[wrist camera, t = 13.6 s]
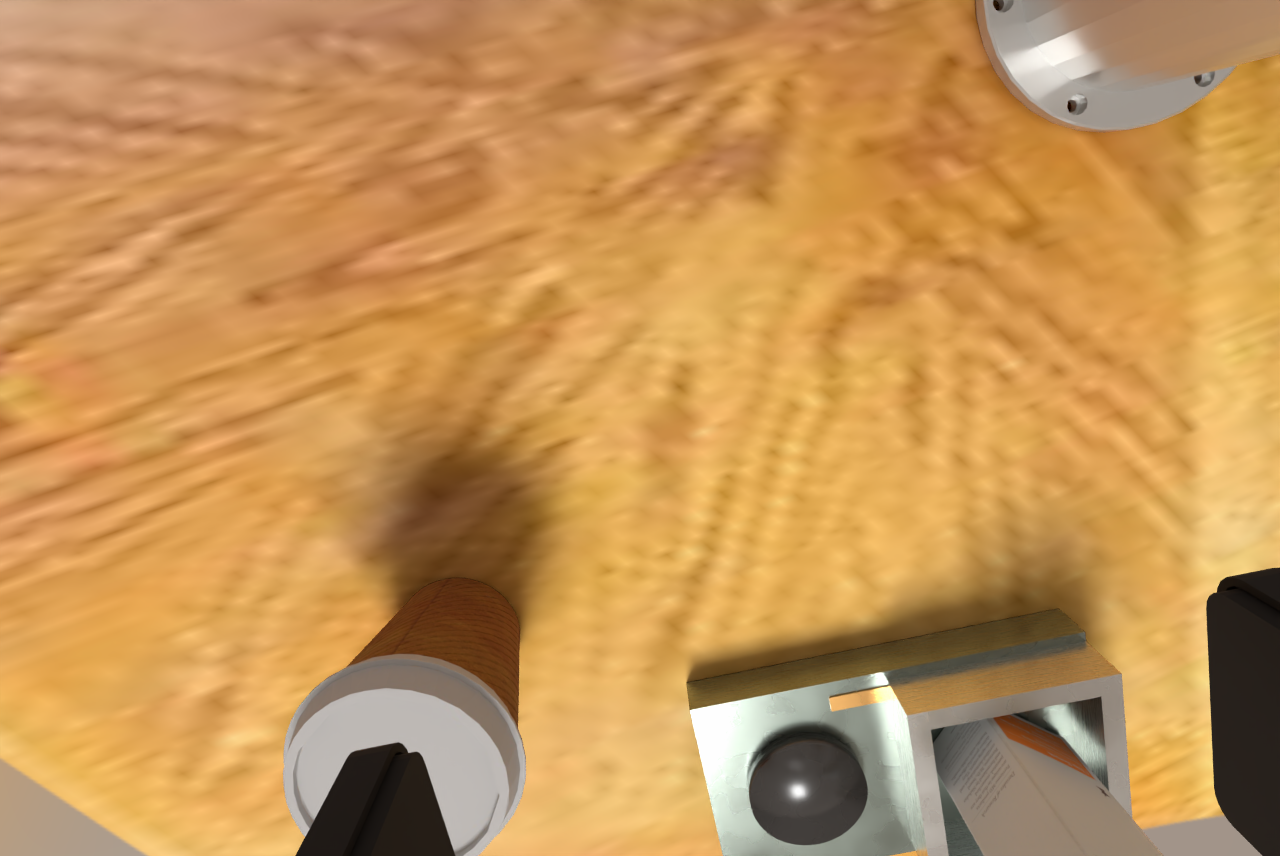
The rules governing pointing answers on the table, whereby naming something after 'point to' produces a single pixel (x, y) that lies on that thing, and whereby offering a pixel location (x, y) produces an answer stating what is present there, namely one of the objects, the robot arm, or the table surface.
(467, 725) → the disposable coffee cup
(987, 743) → the skincare box
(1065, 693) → the divided tray with ball
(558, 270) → the table surface
